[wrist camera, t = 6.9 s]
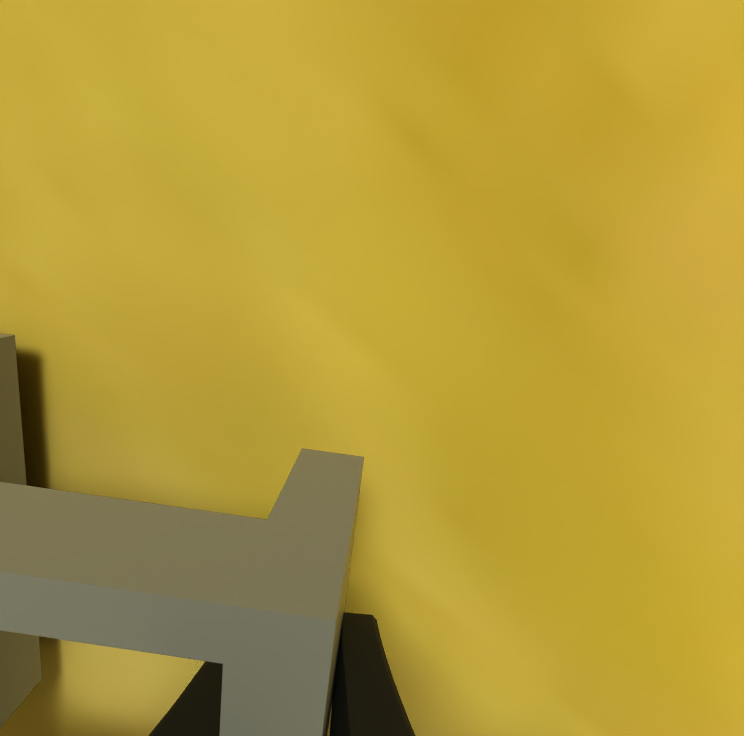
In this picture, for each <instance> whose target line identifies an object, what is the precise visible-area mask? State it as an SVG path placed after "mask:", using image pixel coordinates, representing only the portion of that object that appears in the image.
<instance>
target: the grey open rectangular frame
mask: <svg viewBox="0 0 744 736" xmlns="http://www.w3.org/2000/svg"><path fill="white" fill-rule="evenodd" d="M363 461H364V457H360V456H353V455H346V454H339V453H331V452H324V451H317V450H309V449H302V450H301V452H300V454H299V456H298V458H297V460H296V462H295V464H294V466H293V468H292V470H291V472H290V474H289V476H288V478H287V481H286V483H285V485H284V487H283V489H282V491H281V493H280V495H279V497H278V499H277V501H276V503H275V505H274V507H273V509H272V511H271V513H270V515H269V517H268V519H267V520H266V519H259V518H252V517H245V516H238V515H231V514H224V513H217V512H210V511H203V510H196V509H189V508H181V507H174V506H167V505H160V504H153V503H146V502H139V501H132V500H125V499H118V498H111V497H104V496H97V495H90V494H83V493H76V492H69V491H62V490H54V489H47V488H40V487H33V486H27V483H26V470H25V458H24V446H23V433H22V421H21V408H20V396H19V383H18V371H17V358H16V346H15V335H11V334H3V333H0V728H1V727H2V726H3V725H4V723H5V722H6V721H7V720H8V719H9V717H10V716H11V715H12V714H13V713H14V711H15V710H16V709H17V708H18V707H19V705H20V704H21V703H22V702H23V701H24V699H25V698H26V697H27V696H28V695H29V693H30V692H31V691H32V690H33V689H34V687H35V686H36V685H37V684H38V683H39V681H40V680H41V679H42V670H41V658H40V645H39V636H41V637H48V638H55V639H61V640H68V641H75V642H81V643H88V644H95V645H101V646H108V647H115V648H121V649H128V650H135V651H141V652H148V653H155V654H161V655H168V656H175V657H181V658H188V659H195V660H201V661H208V662H215V663H221V664H223V673H222V694H221V715H220V736H328V735H329V727H330V719H331V710H332V699H333V691H334V683H335V676H336V668H337V660H338V652H339V644H340V636H341V628H342V621H343V614H344V610H345V602H346V594H347V586H348V578H349V570H350V563H351V555H352V547H353V539H354V531H355V523H356V516H357V508H358V500H359V492H360V484H361V476H362V469H363Z"/></svg>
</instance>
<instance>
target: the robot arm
mask: <svg viewBox="0 0 744 736" xmlns="http://www.w3.org/2000/svg"><path fill="white" fill-rule="evenodd" d="M222 673H223V664H221V663H215V662H208V661H205V663H204V664H203V666H202V667H201V668H200V670H199V671H198V672H197V674H196V675H195V676H194V678H193V679H192V681H191V682H190V683H189V685H188V686H187V687H186V689H185V690H184V691H183V693H182V694H181V695H180V697H179V698H178V699H177V701H176V702H175V703H174V705H173V706H172V707H171V709H170V710H169V711H168V712H167V714H166V715H165V716H164V717H163V718H162V720H161V721H160V722H159V723H158V725H157V726H156V727H155V728H154V730H153V731H152V732H151V733H150V735H149V736H220V715H221V694H222ZM330 736H415V734H414V732H413V729H412V727H411V724H410V722H409V719H408V717H407V714H406V712H405V709H404V706H403V704H402V701H401V699H400V696H399V694H398V691H397V688H396V685H395V683H394V680H393V677H392V674H391V671H390V668H389V665H388V662H387V659H386V655H385V652H384V649H383V645H382V641H381V638H380V634H379V630H378V625H377V620H376V619H375V618H374V617H373V615H366V614H354V613H344V614H343V621H342V628H341V636H340V644H339V652H338V660H337V668H336V676H335V683H334V691H333V699H332V710H331V723H330Z"/></svg>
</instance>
